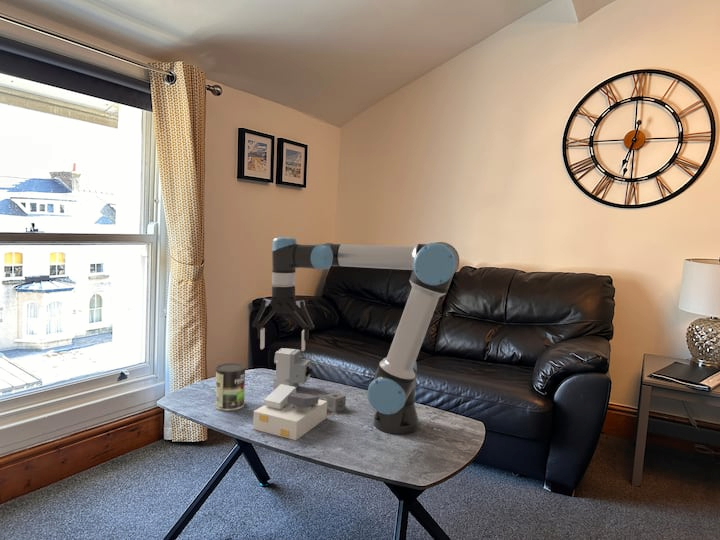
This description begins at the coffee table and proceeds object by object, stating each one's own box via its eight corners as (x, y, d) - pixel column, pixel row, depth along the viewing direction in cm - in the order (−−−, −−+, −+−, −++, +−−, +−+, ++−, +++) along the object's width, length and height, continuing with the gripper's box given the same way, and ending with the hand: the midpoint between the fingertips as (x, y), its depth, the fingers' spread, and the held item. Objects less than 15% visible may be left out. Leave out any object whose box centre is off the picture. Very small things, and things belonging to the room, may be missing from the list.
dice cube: (325, 408, 179) (326, 395, 178) (335, 405, 182) (336, 392, 182) (335, 412, 175) (335, 399, 175) (345, 409, 179) (345, 396, 178)
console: (326, 417, 170) (327, 397, 169) (295, 440, 152) (296, 418, 151) (286, 408, 177) (287, 389, 176) (252, 429, 158) (253, 407, 157)
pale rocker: (296, 393, 168) (295, 387, 167) (280, 409, 159) (279, 403, 159) (281, 390, 170) (280, 383, 170) (264, 405, 162) (264, 399, 161)
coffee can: (249, 402, 180) (251, 365, 179) (234, 412, 171) (235, 373, 169) (225, 398, 183) (226, 361, 182) (208, 408, 174) (209, 369, 172)
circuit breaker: (307, 393, 192) (309, 356, 191) (273, 389, 195) (274, 352, 194) (313, 387, 200) (314, 351, 198) (280, 383, 203) (281, 347, 201)
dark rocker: (317, 404, 166) (319, 396, 166) (303, 406, 157) (304, 398, 157) (302, 400, 168) (303, 393, 168) (287, 402, 159) (288, 395, 159)
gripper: (323, 285, 163) (322, 347, 165) (249, 282, 164) (248, 344, 166) (320, 288, 156) (318, 353, 158) (242, 285, 157) (242, 350, 159)
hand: (282, 349), depth 162 cm, fingers open, 13 cm apart
